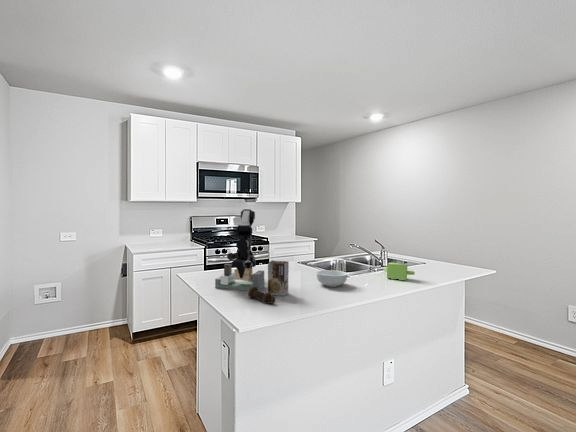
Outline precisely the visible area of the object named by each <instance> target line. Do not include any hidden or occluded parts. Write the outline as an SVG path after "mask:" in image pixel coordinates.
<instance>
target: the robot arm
mask: <svg viewBox="0 0 576 432" xmlns="http://www.w3.org/2000/svg"><path fill="white" fill-rule="evenodd" d="M240 219H241V221H240V222H238V223H237V226H236V232H235V238H236V239H238V240H237V242H236V243H235V245H236V249H237V250H236V252H234V253H233V252H228V253H227V256H226V259H228V260H229V262H231V264H232V267H234V268H235V269H238V272H239V276H240V278H243V275H244V272H245V269H246V268H250V269H252V270H253V268H254V267H256V266H257V263H256V258H255V256H254V253H253V251H252V237H253V228H252V226H253V224H254V222H255V220H256V212H255V211H253V210H252V209H251V208H249V209H248V208H243V209H242V210H241V211H240ZM253 274H254V273H252V277H253Z"/></svg>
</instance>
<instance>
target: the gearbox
mask: <svg viewBox="0 0 576 432" xmlns="http://www.w3.org/2000/svg"><path fill="white" fill-rule="evenodd" d="M408 266H409V265H408V264H407V263H400V262H388V263H387V267H383V272H386V279H387V278H391V279H390V280H393V279H399V280H398V281H400V280H407V279H406V278H408V276H409V275H411V276H412V275H413V276H414V275H415V274H416V273H415V271H414V270H408Z"/></svg>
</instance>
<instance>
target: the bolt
mask: <svg viewBox="0 0 576 432" xmlns="http://www.w3.org/2000/svg"><path fill="white" fill-rule="evenodd" d="M247 294H248V297H249V299H259V300H262V302H263V303H264V304H268V303H270V304H271V305H272V304H274V303H276V301H277V297H276V296H274V295H271V294H270V293H268V292H262V291H261V290H259V291H258V289H257V287H252V288H250V290H248V293H247Z"/></svg>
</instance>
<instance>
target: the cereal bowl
mask: <svg viewBox="0 0 576 432" xmlns="http://www.w3.org/2000/svg"><path fill="white" fill-rule="evenodd" d="M347 278H348V273H347V272H346V271H342V270H333V269H324V270H318V271H317V272H316V279H317V281H318V282H319V283H320V284H323V285H324V286H325V285H326V286H325V287H328V286H330V287H329V288H335V287H336V286H337V287H339V286H341V285H343V284H345V283H346V282H347Z"/></svg>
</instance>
